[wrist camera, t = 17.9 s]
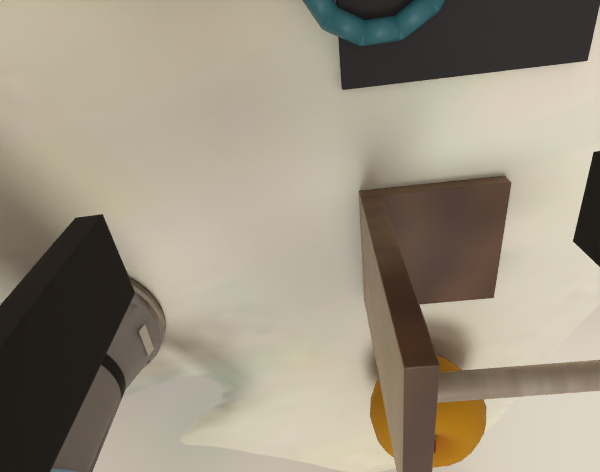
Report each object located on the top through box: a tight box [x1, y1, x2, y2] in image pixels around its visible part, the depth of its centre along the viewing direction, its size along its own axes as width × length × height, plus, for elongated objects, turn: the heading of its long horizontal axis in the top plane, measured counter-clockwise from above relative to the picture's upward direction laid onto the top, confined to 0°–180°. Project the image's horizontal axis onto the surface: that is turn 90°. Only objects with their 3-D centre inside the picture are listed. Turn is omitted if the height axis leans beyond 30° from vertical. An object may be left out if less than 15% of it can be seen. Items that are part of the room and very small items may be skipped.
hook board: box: [359, 176, 600, 472], centre depth 37 cm, size 15×14×22 cm
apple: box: [370, 355, 486, 468], centre depth 51 cm, size 13×13×11 cm
